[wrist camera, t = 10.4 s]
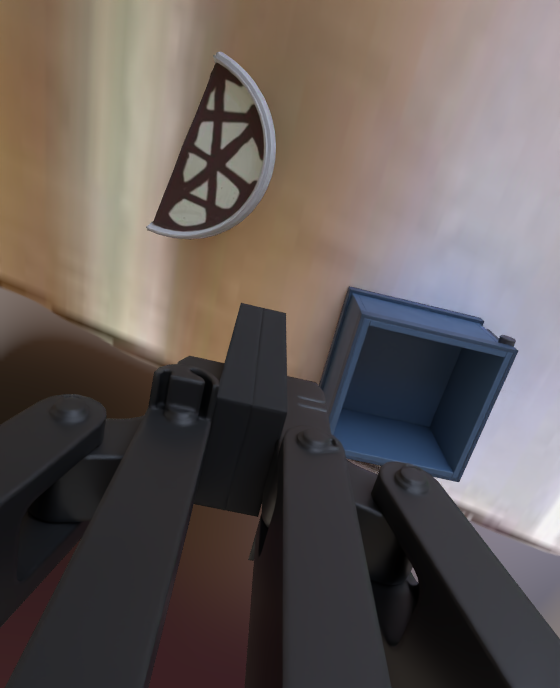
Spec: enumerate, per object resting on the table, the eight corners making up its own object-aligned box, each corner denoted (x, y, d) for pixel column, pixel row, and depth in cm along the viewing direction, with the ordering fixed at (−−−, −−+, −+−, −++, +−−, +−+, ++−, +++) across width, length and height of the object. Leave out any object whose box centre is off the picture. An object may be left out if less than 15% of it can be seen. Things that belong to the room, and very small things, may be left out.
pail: (363, 308, 37) (527, 347, 38) (350, 281, 45) (488, 315, 46) (316, 456, 42) (463, 487, 43) (311, 410, 50) (437, 437, 51)
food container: (238, 248, 44) (227, 275, 34) (173, 216, 43) (143, 235, 33) (303, 108, 40) (310, 97, 30) (232, 69, 39) (217, 45, 29)
